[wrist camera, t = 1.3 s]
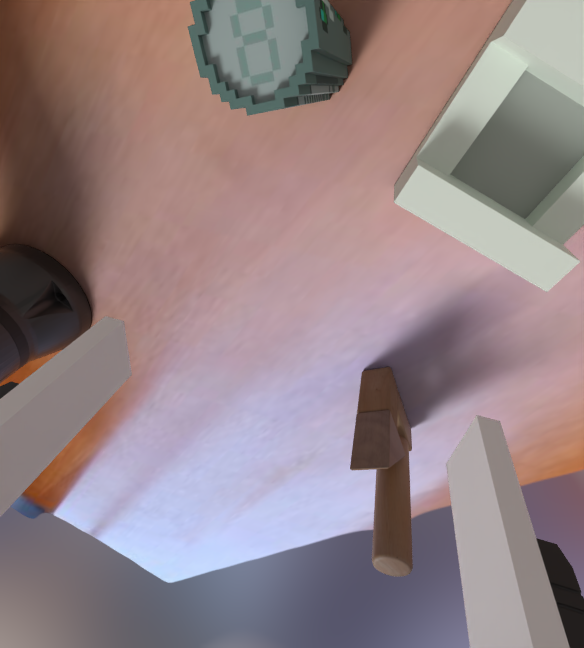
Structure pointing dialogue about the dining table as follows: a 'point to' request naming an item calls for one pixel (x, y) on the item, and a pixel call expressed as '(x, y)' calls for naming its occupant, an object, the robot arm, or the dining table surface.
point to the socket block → (511, 146)
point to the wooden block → (386, 468)
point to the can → (270, 51)
